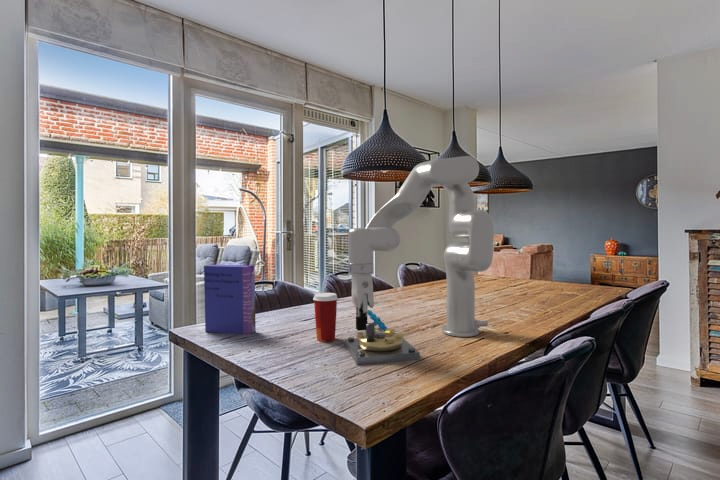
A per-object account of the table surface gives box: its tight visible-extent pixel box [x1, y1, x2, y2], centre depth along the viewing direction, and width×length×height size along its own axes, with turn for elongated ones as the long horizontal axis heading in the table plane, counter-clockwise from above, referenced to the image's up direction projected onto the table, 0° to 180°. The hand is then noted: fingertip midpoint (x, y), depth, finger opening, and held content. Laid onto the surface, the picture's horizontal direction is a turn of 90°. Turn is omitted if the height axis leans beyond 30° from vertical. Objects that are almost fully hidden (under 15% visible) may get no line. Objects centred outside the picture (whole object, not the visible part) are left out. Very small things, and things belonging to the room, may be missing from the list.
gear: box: [367, 309, 388, 331], centre depth 142 cm, size 11×6×10 cm
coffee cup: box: [312, 292, 339, 343], centre depth 131 cm, size 8×8×15 cm
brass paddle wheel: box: [356, 322, 404, 351], centre depth 118 cm, size 13×13×7 cm
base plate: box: [344, 337, 421, 365], centre depth 118 cm, size 18×18×3 cm
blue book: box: [203, 264, 257, 336], centre depth 142 cm, size 17×5×24 cm, turn 74°
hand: (361, 329), depth 120 cm, fingers closed
